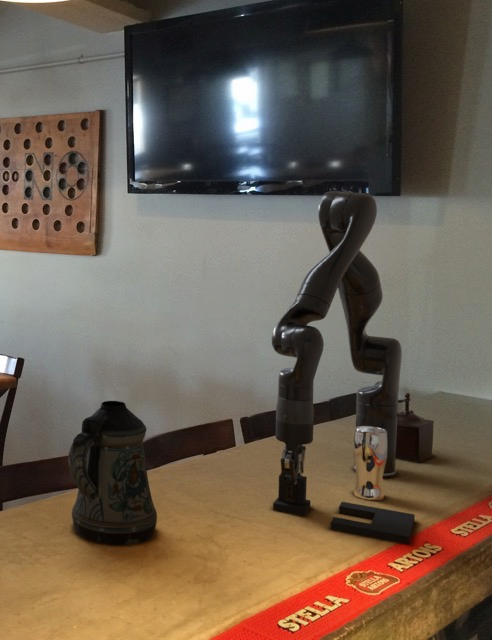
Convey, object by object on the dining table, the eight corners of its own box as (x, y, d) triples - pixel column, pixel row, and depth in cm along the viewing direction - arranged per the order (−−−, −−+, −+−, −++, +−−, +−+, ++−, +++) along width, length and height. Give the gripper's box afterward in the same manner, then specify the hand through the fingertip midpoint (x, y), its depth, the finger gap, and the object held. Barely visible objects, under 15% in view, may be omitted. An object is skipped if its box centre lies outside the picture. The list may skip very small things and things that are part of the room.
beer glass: (389, 502, 176) (391, 434, 176) (355, 499, 178) (357, 432, 177) (381, 492, 183) (383, 426, 183) (349, 489, 185) (351, 424, 184)
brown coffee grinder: (435, 455, 214) (437, 387, 213) (418, 463, 206) (421, 393, 206) (375, 443, 225) (378, 378, 224) (358, 450, 218) (360, 383, 217)
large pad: (341, 508, 172) (341, 501, 172) (414, 521, 165) (414, 514, 165) (330, 529, 160) (330, 521, 160) (408, 544, 153) (409, 536, 153)
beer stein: (162, 520, 163) (165, 397, 162) (145, 558, 144) (149, 419, 143) (83, 510, 168) (85, 390, 167) (57, 544, 150) (59, 411, 149)
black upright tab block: (279, 501, 176) (280, 469, 175) (310, 507, 172) (311, 474, 172) (273, 510, 170) (274, 477, 170) (304, 516, 167) (305, 482, 167)
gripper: (306, 428, 163) (304, 512, 163) (319, 414, 175) (316, 492, 176) (268, 422, 166) (266, 505, 167) (283, 409, 179) (281, 486, 179)
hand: (292, 498), depth 171 cm, fingers open, 3 cm apart
